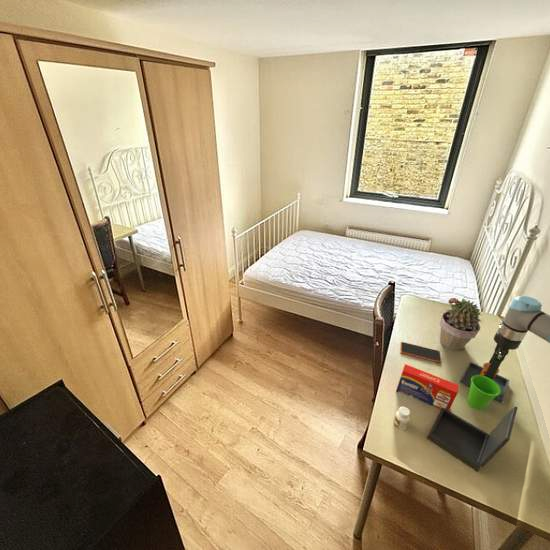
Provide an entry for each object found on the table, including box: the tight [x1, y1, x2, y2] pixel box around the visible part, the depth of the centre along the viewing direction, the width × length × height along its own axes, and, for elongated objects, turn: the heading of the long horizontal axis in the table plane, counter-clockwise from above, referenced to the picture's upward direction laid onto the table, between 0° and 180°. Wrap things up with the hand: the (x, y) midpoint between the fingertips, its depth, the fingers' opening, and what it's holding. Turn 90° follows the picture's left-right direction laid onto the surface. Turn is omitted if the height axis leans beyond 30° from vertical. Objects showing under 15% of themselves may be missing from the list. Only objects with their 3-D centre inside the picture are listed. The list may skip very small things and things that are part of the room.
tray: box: [459, 361, 510, 404], centre depth 118 cm, size 14×13×2 cm
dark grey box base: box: [426, 407, 490, 473], centre depth 96 cm, size 15×14×3 cm
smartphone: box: [400, 341, 442, 364], centre depth 132 cm, size 8×17×1 cm, turn 69°
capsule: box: [480, 362, 500, 380], centre depth 116 cm, size 5×5×8 cm
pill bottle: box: [393, 406, 411, 431], centre depth 100 cm, size 4×4×8 cm
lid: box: [480, 405, 518, 468], centre depth 87 cm, size 15×14×1 cm
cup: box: [466, 375, 501, 411], centre depth 106 cm, size 9×9×11 cm
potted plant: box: [439, 297, 484, 352], centre depth 132 cm, size 18×20×25 cm
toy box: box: [395, 363, 459, 411], centre depth 108 cm, size 18×4×12 cm, turn 58°
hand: (486, 377), depth 116 cm, fingers open, 10 cm apart
